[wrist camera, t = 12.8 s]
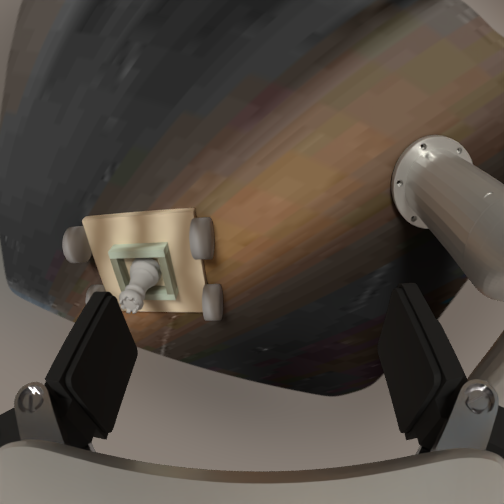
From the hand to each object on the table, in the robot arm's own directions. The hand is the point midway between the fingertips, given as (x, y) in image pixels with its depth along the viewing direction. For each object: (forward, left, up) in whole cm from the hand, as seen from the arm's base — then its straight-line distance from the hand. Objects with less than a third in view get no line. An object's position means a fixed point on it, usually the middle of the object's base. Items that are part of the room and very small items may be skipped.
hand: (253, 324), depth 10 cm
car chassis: (+16, +16, -28) cm, 36 cm away
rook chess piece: (+16, +16, -27) cm, 36 cm away
